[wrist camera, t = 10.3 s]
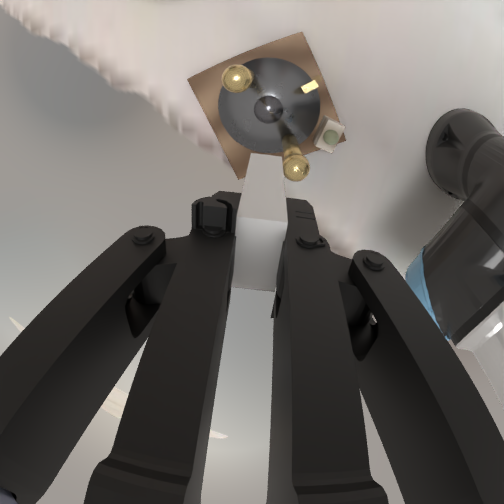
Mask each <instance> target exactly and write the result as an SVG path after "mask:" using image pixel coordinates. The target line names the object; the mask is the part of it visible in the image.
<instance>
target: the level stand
mask: <svg viewBox="0 0 504 504" xmlns="http://www.w3.org/2000/svg"><path fill="white" fill-rule="evenodd" d="M267 57H268V58H279V59H283V60H286V61H289V62H291V63H293V64H295V65H297V66H298V67H300V68H301V69H302V70H304V71H305V72H306V73H307V74H308V75H309V76H310V78H311V79H312V81H313V80H315V81H316V83H317V84H318V86H319V87H317V90H318V93H319V97H320V115H319V119H318V122H317V124H316V126H315V128H314V130H313V131H312V133H311V134H310V135H309V137H308V138H307V139H306V140H304V141H303V142H302V143H301V144H299V147H300V150H301V153H302V155H305V154H308V153H311V152H314V151H317V150H320V149H323V150H325V151H327V152H329V153H331V154H332V153H333V151H334V149H335V147H336V145H337V144H338V143H341V142H344V141H346V139H345V136H344V133H343V131H344V129H345V127H344V126H343V125H342V124H341V123H340V122H339V119H338V116H337V113H336V111H335V108H334V105H333V103H332V100H331V97H330V95H329V92H328V90H327V87H326V85H325V82H324V80H323V77H322V75H321V73H320V70H319V68H318V65H317V63H316V61H315V59H314V56H313V54H312V52H311V50H310V47H309V45H308V43H307V41H306V39H305V37H304V35H303V32H300V33H297V34H294V35H291V36H287V37H285V38H282V39H279V40H276V41H273V42H270V43H268V44H265V45H262V46H260V47H257V48H255V49H252V50H250V51H247V52H245V53H242V54H240V55H238V56H235V57H233V58H231V59H228V60H226V61H224V62H222V63H219V64H217V65H215V66H213V67H211V68H209V69H207V70H205V71H203V72H201V73H199V74H197V75H195V76H193V77H191V78H189V79H187V80H188V82H189V84H190V86H191V88H192V90H193V92H194V94H195V95H196V97H197V99H198V101H199V103H200V105H201V107H202V109H203V111H204V113H205V115H206V117H207V119H208V121H209V123H210V125H211V126H212V128H213V130H214V132H215V134H216V136H217V138H218V140H219V142H220V144H221V146H222V148H223V150H224V152H225V154H226V156H227V158H228V160H229V162H230V164H231V166H232V168H233V170H234V172H235V174H236V176H237V178H238V180H239V179H241V178H244V177H246V173H247V168H248V164H249V160H250V155H251V153H256V154H265V155H273V156H281V157H282V162H283V160H284V153H283V152H279V153H262V152H257V151H253V150H250V149H248V148H246V147H244V146H242V145H240V144H239V143H238V142H236V141H235V140H234V139H233V138H232V137H231V136H230V135H229V134H228V132H227V131H226V129H225V128H224V126H223V124H222V122H221V119H220V116H219V110H218V99H219V94H220V90H221V88H222V85H223V84H222V74H223V72H224V71H225V70H226V69H227V68H228V67H230V66H232V65H242V64H244V63H246V62H248V61H251V60H254V59H258V58H267Z"/></svg>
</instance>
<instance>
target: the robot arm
mask: <svg viewBox="0 0 504 504" xmlns="http://www.w3.org/2000/svg"><path fill="white" fill-rule="evenodd" d="M426 162H427V167H428V171H429V173H430V176H431V178H432V179H433V181H434V182H435V183H436V185H437V186H438V187H439V188H440V189H442V190H443V191H444V192H445V193H446V194H448V195H449V196H451V197H453V198H456V199H460V200H463V201H465V202H464V203H463V204H462V206H460V208H459V209H458V210H457V211H456V213H455V214H454V215H453V216H452V217H451V219H450V220H449V221H448V222H447V223H446V224H445V226H444V227H443V228H442V229H441V230H440V231H439V232H438V234H437V235H436V236H435V237H434V238H433V239H432V240H431V241H430V242H429V243H428V244H427V245H426V246H424V247H423V248H422V250H421V252H420V254H419V255H418V256H417V257H416V258H415V260H414V261H413V262H412V263H411V264H410V266H409V267H408V269H407V271H406V278H405V279H406V281H405V280H404V278H403V277H402V276H401V275H400V273H399V272H398V271H397V269H396V268H395V267H394V265H393V264H392V263H391V262H390V261H389V260H388V259H387V258H386V257H385V256H383V255H381V254H380V253H378V252H375V251H372V250H361V251H357V252H356V253H355V254H354V256H353V259H349V258H346V257H343V256H340V255H337V254H335V253H333V252H331V250H330V247H329V244H328V242H327V240H326V239H325V238H323V237H322V236H321V235H319V231H318V226H317V222H316V220H315V219H316V218H315V215H314V210H313V207H312V206H311V205H310V204H309V203H308V202H307V201H306V200H300V199H293V198H286V195H285V184H284V173H283V163H282V157H281V156H273V155H265V154H256V153H251V155H250V160H249V164H248V168H247V173H246V177H245V181H244V186H243V190H242V193H234V192H225V191H219V192H217V193H216V194H214V195H212V197H205V198H201V199H198V200H196V201H195V202H194V203H193V204H192V230H191V232H190V234H189V235H188V236H185V237H180V238H170V239H165V233H164V232H163V231H162V229H160V228H157V227H154V226H139V227H136V228H133V229H131V230H129V231H128V232H126V233H125V234H124V235H122V236H121V237H120V238H119V239H118V240H117V241H115V242H114V243H113V244H112V245H111V246H110V247H109V248H108V249H106V250H105V251H104V252H103V253H102V254H101V255H100V256H98V257H97V258H96V259H95V260H94V261H93V262H92V263H91V264H90V265H88V266H87V267H86V268H85V269H84V270H83V271H82V272H81V273H80V274H79V275H78V276H77V277H76V278H75V279H73V280H72V282H70V283H69V284H68V285H67V286H66V287H65V288H64V289H63V290H62V291H61V292H60V293H59V294H58V295H57V296H56V297H55V298H54V299H53V300H52V301H51V302H50V303H49V304H48V305H47V306H46V307H45V308H44V309H43V310H42V311H41V312H40V313H39V314H38V315H37V316H36V317H35V318H34V319H33V321H32V322H31V323H30V324H29V325H28V326H27V327H26V328H25V329H24V330H23V331H22V332H21V333H20V335H19V336H18V337H17V338H16V339H15V340H14V341H13V342H12V344H11V345H10V346H9V347H8V348H7V349H6V350H5V351H4V353H3V354H2V355H1V356H0V504H36V502H37V501H38V500H39V499H40V498H41V497H42V496H43V495H44V494H45V492H46V491H47V489H48V488H49V486H50V485H51V484H52V482H53V481H54V479H55V477H56V476H57V474H58V472H59V470H60V469H61V467H62V466H63V464H64V463H65V461H66V459H67V458H68V456H69V455H70V453H71V452H72V450H73V448H74V447H75V445H76V444H77V442H78V441H79V439H80V437H81V436H82V434H83V433H84V431H85V430H86V428H87V426H88V425H89V424H90V422H91V420H92V419H93V417H94V416H95V414H96V413H97V411H98V410H99V408H100V407H101V405H102V404H103V402H104V401H105V399H106V398H107V396H108V395H109V393H110V392H111V390H112V389H113V387H114V386H115V384H116V383H117V381H118V380H119V378H120V377H121V376H122V374H123V373H124V371H125V370H126V368H127V367H128V365H129V364H130V362H131V361H132V360H133V358H134V357H135V355H136V354H137V352H138V351H139V350H140V348H141V347H142V345H143V344H144V342H145V341H146V340H147V338H148V340H147V342H146V345H145V348H144V351H143V354H142V357H141V359H140V362H139V365H138V368H137V371H136V374H135V377H134V380H133V383H132V386H131V389H130V392H129V395H128V398H127V401H126V405H125V408H124V411H123V414H122V418H121V421H120V424H119V427H118V431H117V434H116V438H115V441H114V445H113V448H112V451H111V453H110V454H109V456H108V457H107V458H106V459H104V460H102V461H101V462H99V463H98V465H97V466H96V468H95V469H94V471H93V473H92V475H91V478H90V481H89V485H88V488H87V492H86V496H85V500H84V504H201V503H200V502H201V490H202V482H203V475H204V467H205V461H206V453H207V446H208V439H209V433H210V426H211V419H212V412H213V406H214V399H215V391H216V386H217V378H218V372H219V366H220V359H221V353H222V347H223V340H224V334H225V328H226V321H227V315H228V308H229V303H230V294H231V287H236V288H245V289H254V290H263V291H272V292H275V287H276V295H275V300H274V305H273V310H272V314H271V318H274V328H273V330H274V331H273V371H272V403H271V429H270V452H269V472H268V491H267V503H266V504H389V503H388V498H387V494H386V493H385V491H384V489H383V487H382V486H381V485H379V484H378V483H377V482H375V481H374V480H373V478H372V476H371V473H370V467H369V457H368V448H367V439H366V431H365V423H364V416H363V409H362V403H361V396H360V391H361V393H362V395H363V397H364V400H365V402H366V405H367V407H368V409H369V412H370V414H371V417H372V419H373V422H374V424H375V426H376V429H377V431H378V434H379V436H380V439H381V441H382V444H383V446H384V449H385V451H386V454H387V457H388V459H389V462H390V464H391V467H392V470H393V472H394V475H395V477H396V480H397V483H398V485H399V488H400V491H401V493H402V496H403V499H404V502H405V504H504V440H503V438H502V436H501V434H500V432H499V430H498V428H497V426H496V424H495V422H494V420H493V418H492V416H491V414H490V413H489V411H488V409H487V407H486V405H485V403H484V401H483V399H482V397H481V396H480V394H479V392H478V390H477V388H476V387H475V385H474V384H473V381H472V380H471V378H470V376H469V375H468V373H467V372H466V370H465V368H464V366H463V365H462V363H461V361H460V360H459V358H458V357H457V355H456V353H455V352H454V350H453V349H452V347H451V346H450V344H449V343H448V341H449V340H450V339H451V340H452V341H453V343H454V345H455V346H456V348H457V349H464V350H469V351H471V352H473V354H474V355H475V357H476V359H477V360H478V362H479V364H480V366H481V367H482V369H483V371H484V373H485V375H486V376H487V378H488V380H489V382H490V384H491V386H492V388H493V390H494V391H495V393H496V395H497V397H498V399H499V401H500V403H501V405H502V407H503V410H504V137H503V136H502V135H501V134H500V133H499V132H498V131H497V130H496V129H495V127H494V126H493V125H492V123H491V122H490V121H489V120H488V119H487V118H485V117H484V116H482V115H481V114H479V113H476V112H474V111H471V110H468V109H456V110H452V111H450V112H448V113H446V114H445V115H443V116H442V117H441V118H440V119H439V120H438V121H437V123H436V124H435V125H434V127H433V129H432V131H431V133H430V136H429V138H428V142H427V148H426ZM372 315H374V317H375V319H376V321H377V323H375V321H374V320H373V318H372ZM359 388H360V389H359Z"/></svg>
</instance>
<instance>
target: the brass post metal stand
mask: <svg viewBox="0 0 504 504" xmlns="http://www.w3.org/2000/svg"><path fill="white" fill-rule="evenodd" d="M222 84H223V85H222V88H221V90H220V94H219V99H218V110H219V116H220V119H221V122H222V124H223V126H224V128H225V129H226V131H227V132H228V134H229V135H230V136H231V137H232V138H233V139H234V140H235V141H236V142H238V143H239V144H240V145H242V146H244V147H246V148H248V149H250V150H253V151H257V152H262V153H279V152H283V153H284V160H283V162H282V163H283V173H284V176H285V177H286V178H287V179H289V180H291V181H301V180H303V179H304V178H306V177H307V175H308V174H309V170H310V165H309V162H308V160H307V159H306V158H305V157H304V156H303V155H302V153H301V150H300V147H299V144H301V143H302V142H303V141H304V140H306V139H307V138H308V137H309V135H310V134H311V133H312V131H313V130H314V128H315V126H316V124H317V122H318V119H319V115H320V97H319V93H318V90H317V87H319V86H318V84H317V83H316V81H315V80H313V81H312V79H311V78H310V76H309V75H308V74H307V73H306V72H305V71H304V70H302V69H301V68H300V67H298V66H297V65H295V64H293V63H291V62H289V61H286V60H283V59H279V58H268V57H267V58H258V59H254V60H251V61H248V62H246V63H244V64H242V65H232V66H230V67H228V68H227V69H226V70H225V71H224V72H223V74H222Z"/></svg>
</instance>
